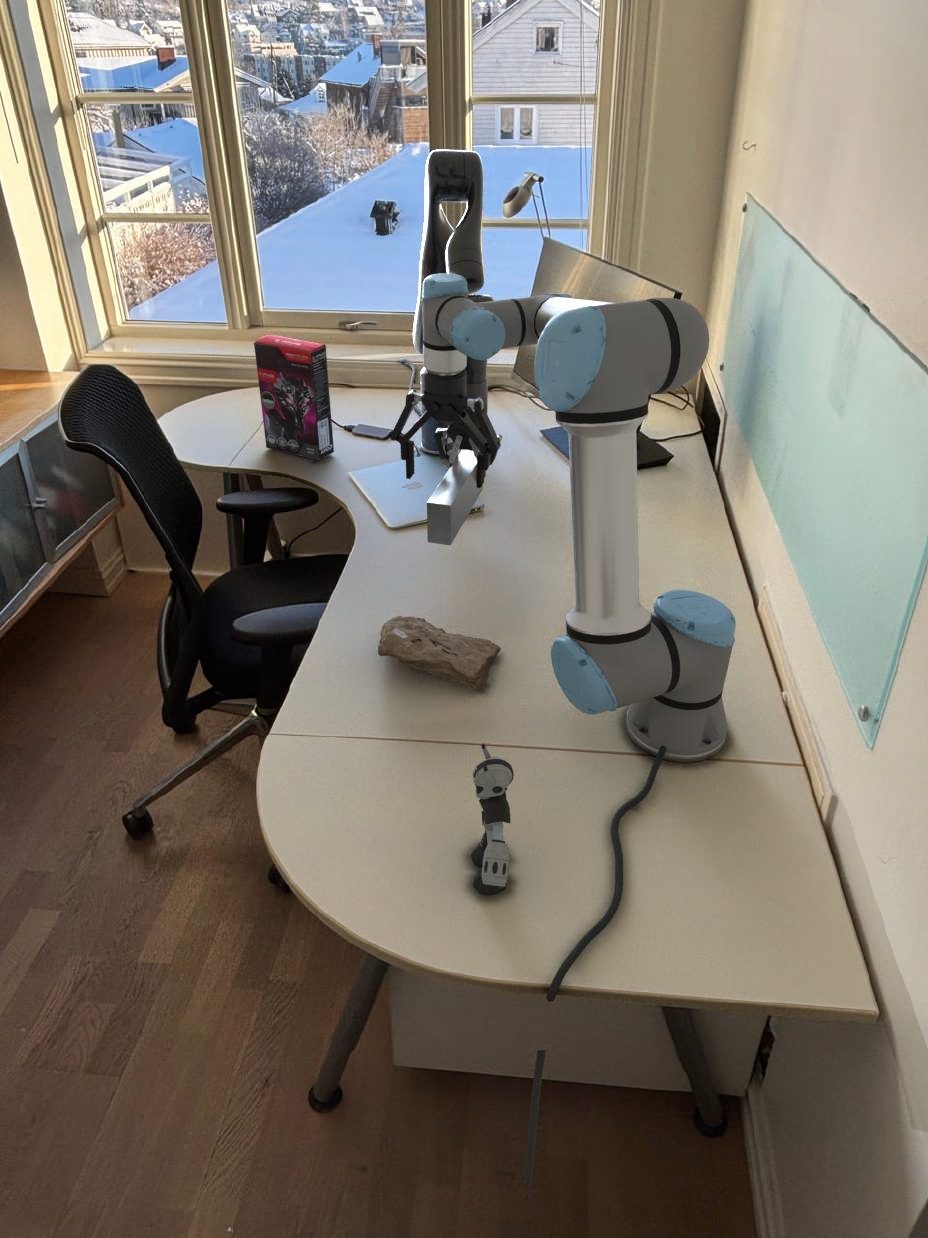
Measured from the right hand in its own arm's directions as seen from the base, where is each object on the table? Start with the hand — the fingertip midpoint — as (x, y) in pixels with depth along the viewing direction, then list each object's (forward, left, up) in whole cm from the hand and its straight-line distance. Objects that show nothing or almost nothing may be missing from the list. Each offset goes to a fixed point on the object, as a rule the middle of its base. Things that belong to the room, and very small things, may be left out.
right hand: (445, 480), depth 172 cm
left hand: (+17, 0, -8) cm, 19 cm away
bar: (+9, 0, -11) cm, 14 cm away
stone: (-30, -7, -20) cm, 37 cm away
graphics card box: (+46, +51, -20) cm, 72 cm away
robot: (-71, -27, -20) cm, 78 cm away
